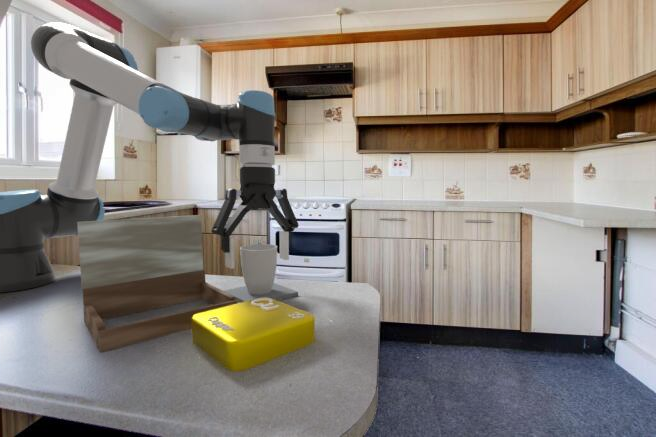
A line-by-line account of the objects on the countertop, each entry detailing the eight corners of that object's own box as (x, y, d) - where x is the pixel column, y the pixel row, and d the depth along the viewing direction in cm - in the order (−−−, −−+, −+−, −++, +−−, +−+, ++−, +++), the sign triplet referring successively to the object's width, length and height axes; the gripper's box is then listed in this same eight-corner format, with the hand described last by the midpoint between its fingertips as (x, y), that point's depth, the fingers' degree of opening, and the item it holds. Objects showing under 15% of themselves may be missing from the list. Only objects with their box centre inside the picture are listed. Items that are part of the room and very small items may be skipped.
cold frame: (83, 320, 65) (77, 222, 64) (203, 296, 80) (200, 215, 78) (100, 352, 53) (92, 230, 51) (238, 316, 67) (235, 220, 65)
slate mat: (223, 294, 81) (223, 290, 81) (269, 284, 89) (269, 281, 89) (249, 307, 72) (249, 303, 72) (298, 295, 80) (298, 291, 80)
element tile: (187, 341, 57) (186, 311, 57) (267, 317, 68) (266, 292, 67) (233, 377, 46) (232, 341, 46) (320, 342, 57) (320, 313, 56)
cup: (281, 286, 84) (280, 244, 83) (272, 297, 76) (272, 250, 75) (247, 285, 85) (246, 243, 84) (235, 296, 77) (234, 250, 76)
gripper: (208, 163, 67) (211, 275, 69) (313, 167, 83) (313, 258, 85) (193, 164, 73) (196, 268, 75) (294, 168, 89) (294, 253, 91)
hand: (258, 263), depth 80 cm, fingers open, 13 cm apart
